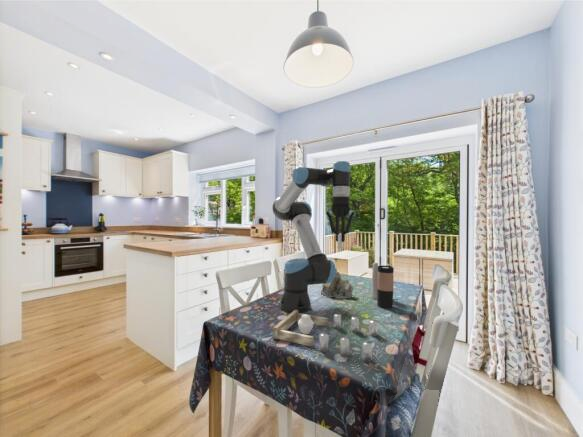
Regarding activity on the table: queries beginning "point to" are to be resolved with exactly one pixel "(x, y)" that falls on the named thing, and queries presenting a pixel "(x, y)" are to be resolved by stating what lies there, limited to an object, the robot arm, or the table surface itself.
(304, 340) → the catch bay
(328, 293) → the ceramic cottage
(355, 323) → the spacer field
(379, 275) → the travel mug
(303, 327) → the grey faceted vase
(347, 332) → the table surface
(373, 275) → the candle
